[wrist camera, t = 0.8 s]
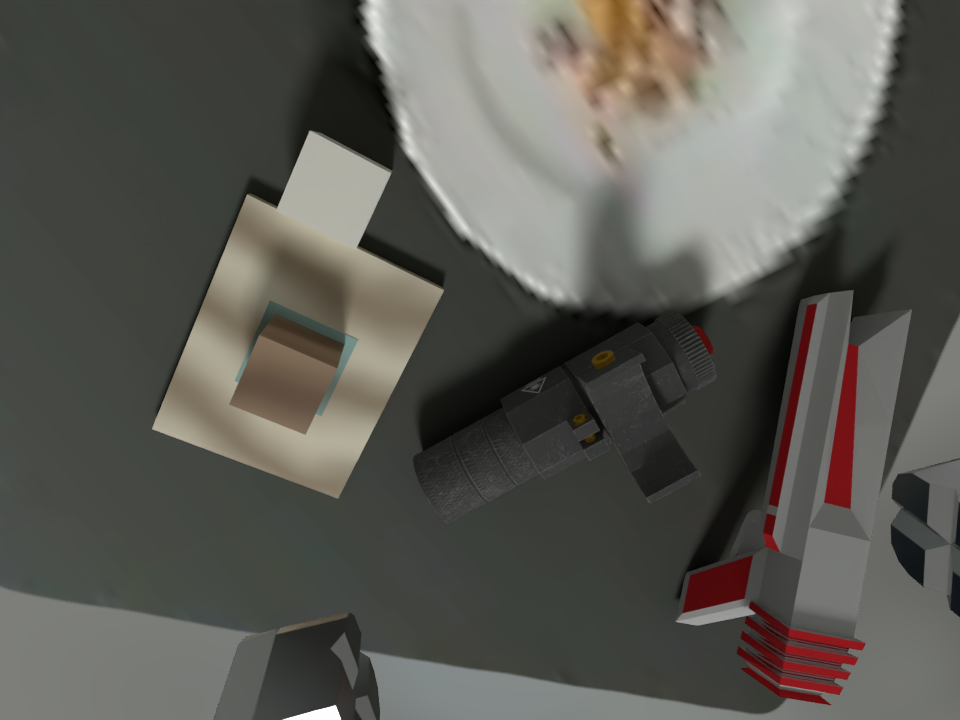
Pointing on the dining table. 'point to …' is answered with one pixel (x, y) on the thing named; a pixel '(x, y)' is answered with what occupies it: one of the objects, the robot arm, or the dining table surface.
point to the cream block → (333, 189)
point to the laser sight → (579, 420)
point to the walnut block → (287, 374)
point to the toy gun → (812, 505)
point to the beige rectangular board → (315, 305)
